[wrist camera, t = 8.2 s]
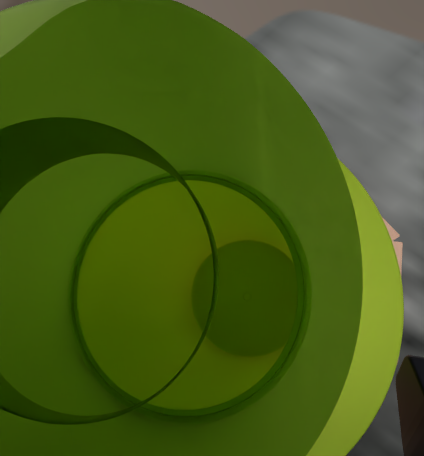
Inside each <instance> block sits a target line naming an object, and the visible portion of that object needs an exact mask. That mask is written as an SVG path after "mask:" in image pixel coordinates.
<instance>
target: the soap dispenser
mask: <svg viewBox="0 0 424 456" xmlns="http://www.w3.org/2000/svg"><path fill="white" fill-rule="evenodd" d="M403 319H404V302H403V288H402V280H401V274H400V269H399V264H398V260H397V256H396V253H395V249H394V246H393V243H392V240H391V237H390V235H389V232H388V230H387V227H386V225H385V223H384V221H383V219H382V217H381V215H380V213H379V211H378V209H377V207H376V206H375V204H374V202H373V201H372V199H371V197H370V196H369V194H368V193H367V191H366V190H365V189H364V187H363V186H362V185H361V183H360V182H359V181H358V180H357V178H356V177H355V176H354V175H353V174H352V173H351V172H350V170H349V169H348V168H347V167H346V166H345V165H344V164H343V163H342V162H341V161H340V160H339V159H337V157H336V155H335V153H334V151H333V148H332V146H331V144H330V142H329V140H328V138H327V136H326V135H325V133H324V131H323V129H322V128H321V126H320V124H319V123H318V121H317V119H316V118H315V116H314V115H313V113H312V112H311V110H310V109H309V107H308V106H307V104H306V103H305V102H304V100H303V99H302V97H301V96H300V95H299V93H298V92H297V91H296V90H295V89H294V87H293V86H292V85H291V84H290V82H289V81H288V80H287V79H286V78H285V77H284V76H283V75H282V73H281V72H280V71H279V70H278V69H277V68H276V67H275V66H274V65H273V64H272V63H271V62H270V61H269V60H268V59H267V58H266V57H265V56H264V55H263V54H261V53H260V52H259V51H258V50H257V49H256V48H255V47H253V46H252V45H251V44H250V43H249V42H248V41H246V40H245V39H244V38H242V37H241V36H240V35H238V34H237V33H235V32H234V31H232V30H231V29H229V28H227V27H226V26H224V25H223V24H221V23H219V22H218V21H216V20H214V19H212V18H210V17H209V16H207V15H205V14H203V13H201V12H199V11H197V10H195V9H193V8H190V7H188V6H186V5H184V4H182V3H179V2H176V1H173V0H34V1H30V2H27V3H23V4H20V5H17V6H14V7H11V8H8V9H5V10H2V11H0V456H346V455H347V454H348V453H349V451H350V450H351V449H352V448H353V447H354V446H355V445H356V443H357V442H358V441H359V440H360V438H361V437H362V436H363V434H364V433H365V432H366V430H367V429H368V427H369V426H370V424H371V423H372V421H373V419H374V418H375V416H376V414H377V412H378V411H379V409H380V407H381V405H382V403H383V401H384V399H385V396H386V394H387V392H388V389H389V387H390V384H391V381H392V378H393V375H394V372H395V369H396V365H397V361H398V357H399V352H400V347H401V341H402V333H403Z"/></svg>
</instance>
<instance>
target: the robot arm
mask: <svg viewBox="0 0 424 456" xmlns="http://www.w3.org/2000/svg"><path fill="white" fill-rule="evenodd" d="M396 391H397V400H398V408H399V417H400V426H401V435H402V443H403V451H404V456H424V357H418V356H412V355H407V356H406V357H405V358H404V360H403V362H402V365H401V367H400V369H399V371H398V374H397V376H396Z"/></svg>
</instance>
